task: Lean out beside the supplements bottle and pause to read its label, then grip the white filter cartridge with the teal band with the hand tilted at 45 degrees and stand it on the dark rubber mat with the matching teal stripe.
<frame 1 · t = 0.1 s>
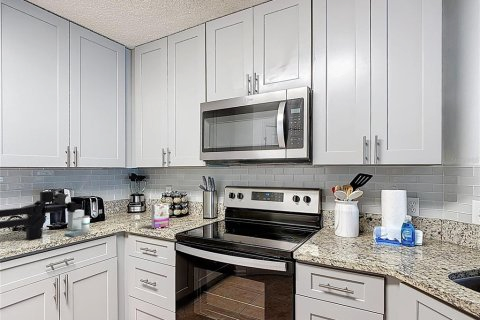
hand: (77, 205, 181), 17 cm above the worktop, tool horizontal, fingers open, 9 cm apart
cartridge: (85, 231, 177), on the worktop
candy bar box: (160, 228, 189), on the worktop
mat: (76, 235, 167), on the worktop
supplement box: (75, 229, 183), on the worktop
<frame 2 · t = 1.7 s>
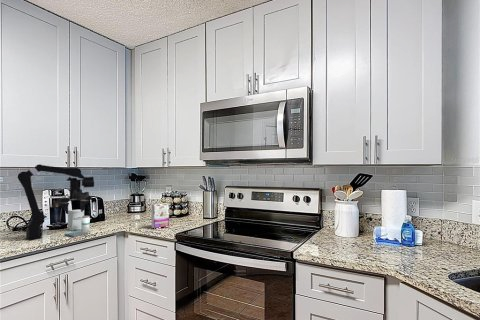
hand: (74, 212, 170), 13 cm above the worktop, tool pointing down, fingers open, 9 cm apart
nothing on the worktop moved.
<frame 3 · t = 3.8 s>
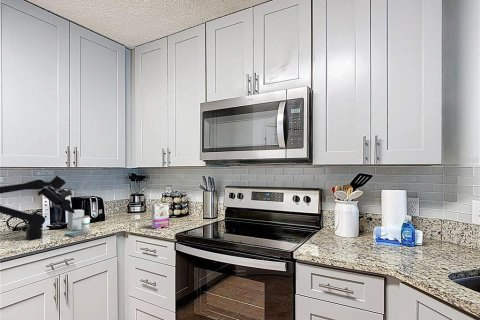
hand: (72, 211, 172), 13 cm above the worktop, tool tilted 45°, fingers open, 9 cm apart
nothing on the worktop moved.
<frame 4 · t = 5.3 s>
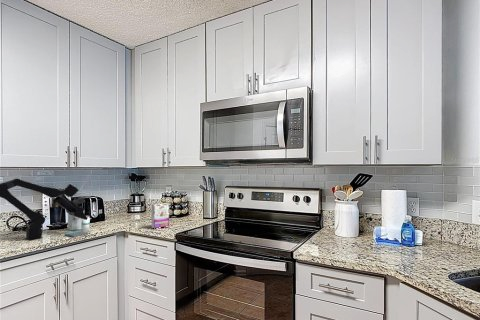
hand: (84, 218, 177), 8 cm above the worktop, tool tilted 45°, fingers open, 8 cm apart
supplement box: (75, 229, 183), on the worktop, touching gripper
everything else where it was.
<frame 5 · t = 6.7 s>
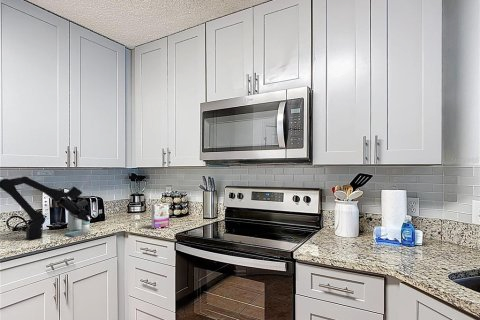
hand: (88, 220, 178), 7 cm above the worktop, tool tilted 45°, fingers closed on cartridge, 5 cm apart
cartridge: (85, 231, 177), on the worktop, touching gripper
supplement box: (75, 229, 183), on the worktop
everything else where it was.
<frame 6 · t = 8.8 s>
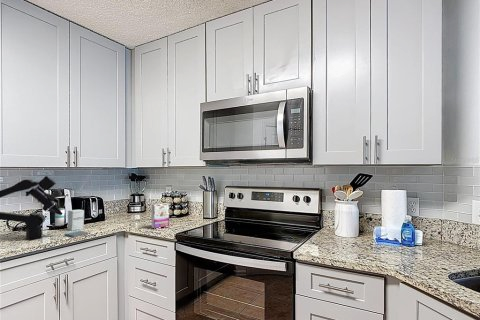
hand: (62, 213, 164), 13 cm above the worktop, tool tilted 45°, fingers closed on cartridge, 5 cm apart
cartridge: (59, 224, 163), point 7 cm above the worktop, touching gripper
everything else where it was.
when the fingers open (9 cm above the worktop, at t = 10.9 s): cartridge drops 2 cm, resting on mat.
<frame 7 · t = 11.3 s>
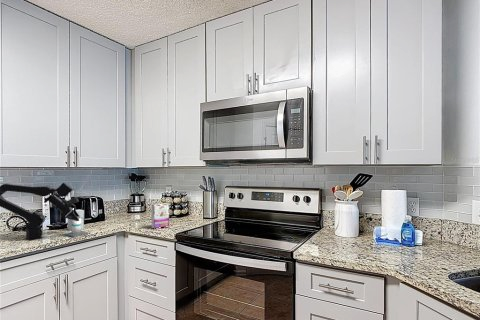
hand: (79, 219, 168), 9 cm above the worktop, tool tilted 45°, fingers open, 9 cm apart
cartridge: (76, 233, 167), point 1 cm above the worktop, touching mat
everything else where it was.
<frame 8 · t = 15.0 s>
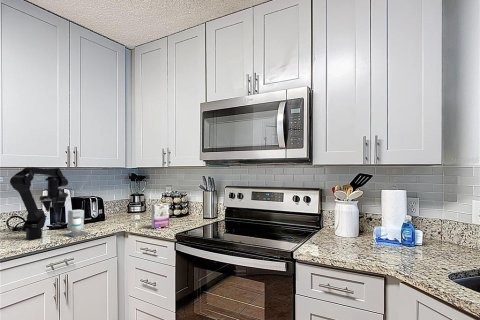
hand: (52, 212, 172), 13 cm above the worktop, tool pointing down, fingers open, 9 cm apart
nothing on the worktop moved.
at the end: cartridge inside the target area on the mat (0.0 cm from its centre), point 1.2 cm above the mat's base; cartridge tilted 0°; the gripper is holding nothing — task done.
